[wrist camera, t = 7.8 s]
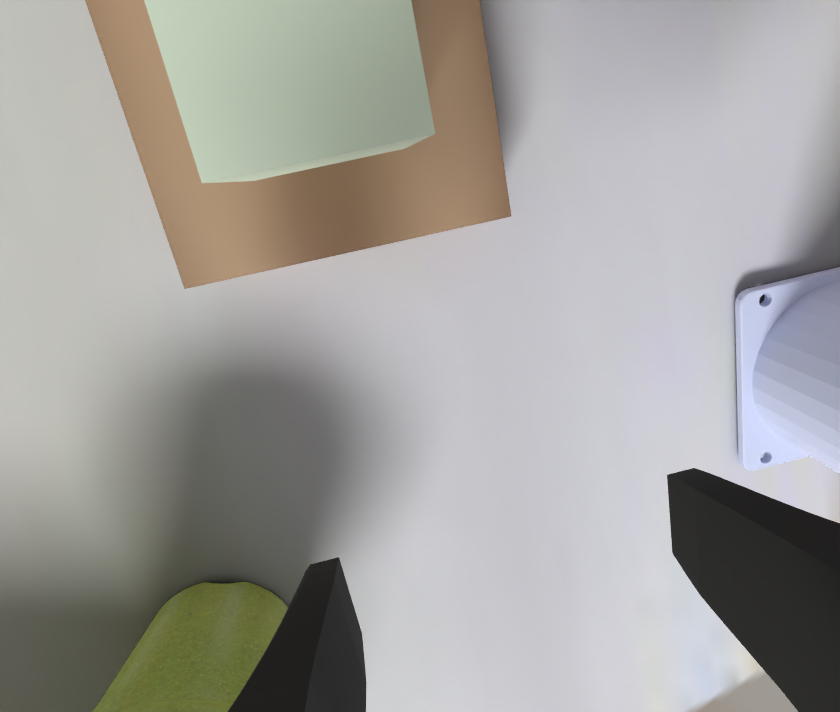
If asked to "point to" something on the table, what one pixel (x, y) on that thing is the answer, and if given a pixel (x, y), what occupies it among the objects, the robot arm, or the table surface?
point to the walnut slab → (323, 186)
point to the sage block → (292, 82)
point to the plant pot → (197, 650)
